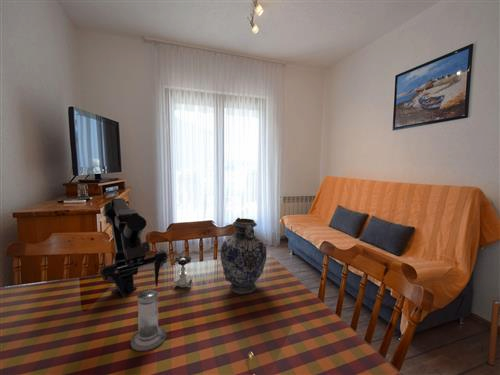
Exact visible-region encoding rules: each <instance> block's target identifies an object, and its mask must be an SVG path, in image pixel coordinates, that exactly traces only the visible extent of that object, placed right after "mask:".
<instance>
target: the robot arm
mask: <svg viewBox="0 0 500 375" xmlns="http://www.w3.org/2000/svg"><path fill="white" fill-rule="evenodd" d="M102 214H103V217H104V218H105V222H106V223H108V224H109V225H110V226H111V232H112V236H113V237H112V238H113V243H114V249H115V255H114V257H113V261H112V262H113V263H112V264H109V265H104V266H102V268H101V270H100V272H101V278H102V279H103V282H104V281H105V282H106V281H108V282H109V283H112V282H113V284H114V285H115V286H114V287H115V289H113V290H111V293H112V294H115V295H117V296H120V297H122V298H126V296H127V294H130V293H132V292H134V291H135V290H137V289H138V288H137V286H135V284H134V283H135V282H134V281H135V280H134V276H136V275H138V273H139V268H141V267H144V266H147V265H152V264H153V274H154V283H155V284H154V285H155V287H156V288H157V287H158V285H159V276H160V269H161V268H162V267H163V266H164V265H165V264H166V263H167V261H168V254H167V252H166V251H165V250H162V251H158V252H155V253H153V254H152V257H149V258H146V253H148V252H151V247H150V243H149V241H145V242H144V241H143V242H142V238H141V237H142V236H143V233H144V231H145V229H146V226H147V220H146V219H145V218H144V217H143V216H141V215H140V213H139V212H138V210H135V209H131V208H130V207H129V206H128V204H127V202H126V199H125V198H123V197H117V198H112V199H111V198H110V200H109V202H107V203H104V205H103V209H102Z"/></svg>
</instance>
